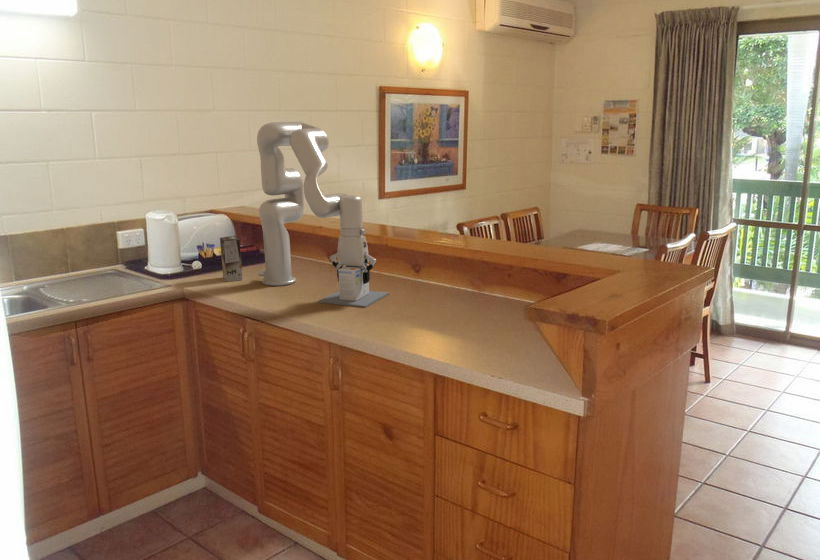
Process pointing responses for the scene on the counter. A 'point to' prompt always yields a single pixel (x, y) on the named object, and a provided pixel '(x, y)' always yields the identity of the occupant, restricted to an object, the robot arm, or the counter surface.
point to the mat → (361, 302)
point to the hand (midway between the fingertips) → (353, 281)
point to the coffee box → (231, 258)
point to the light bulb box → (352, 283)
